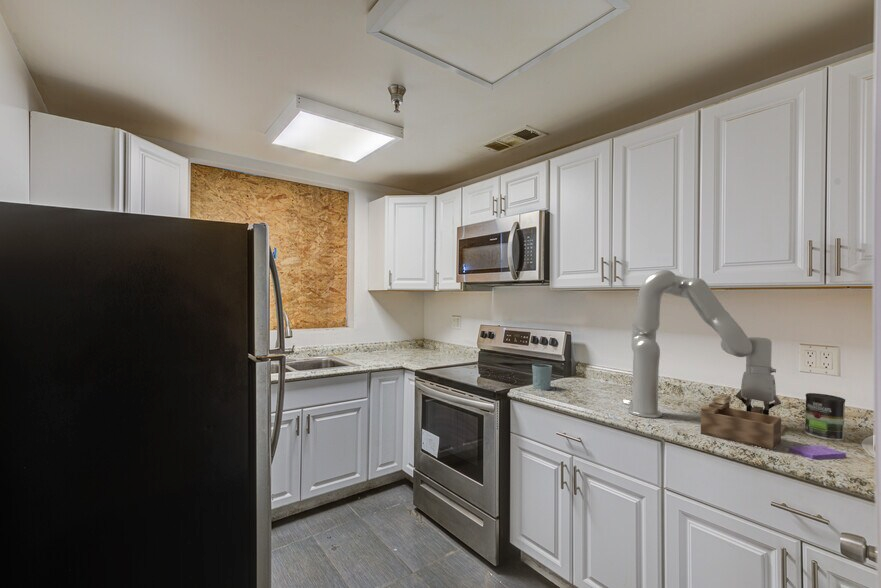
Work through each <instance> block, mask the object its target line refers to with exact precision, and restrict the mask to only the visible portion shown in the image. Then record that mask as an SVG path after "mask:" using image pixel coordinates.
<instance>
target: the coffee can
mask: <svg viewBox="0 0 881 588" xmlns="http://www.w3.org/2000/svg"><path fill="white" fill-rule="evenodd" d="M845 403H846V398H843V397H840V396H837V395H832V394H825V393H815V392H814V393H813V392H809V393H808V392H807V393H805V420H804V421H805V422H804V423H805V424H804V427H805V428H804V430H805V431H804V433H805V434H806V435H807V436H811V437H813V438H818V439H822V440H827V441H834V442H835V441H836V442H842V441H845V414H846V413H845V409H846V404H845Z"/></svg>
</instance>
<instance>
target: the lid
mask: <svg viewBox="0 0 881 588" xmlns="http://www.w3.org/2000/svg"><path fill="white" fill-rule="evenodd" d="M763 409H764V407H763V406H758V405H754V406H752V409H751V412H754V413H759V414H763ZM787 429H788V426H787V425H786V424H782V423H781V435H782V434H783V433H784V432H785V431H786V430H787Z"/></svg>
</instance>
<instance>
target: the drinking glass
mask: <svg viewBox="0 0 881 588" xmlns="http://www.w3.org/2000/svg"><path fill="white" fill-rule="evenodd" d="M531 368H532V369H531V370H532V387H534V388H536V389H541V390H540V391H549V389H550V390H551V381H552V371H553V365H550V364H544V363H534V364H532V365H531ZM534 388H533V389H534ZM536 389H535V390H536Z"/></svg>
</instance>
